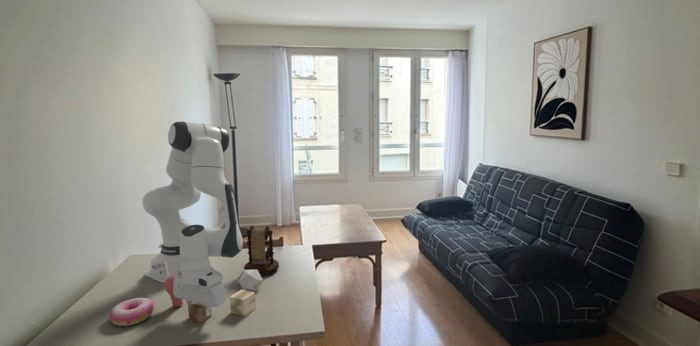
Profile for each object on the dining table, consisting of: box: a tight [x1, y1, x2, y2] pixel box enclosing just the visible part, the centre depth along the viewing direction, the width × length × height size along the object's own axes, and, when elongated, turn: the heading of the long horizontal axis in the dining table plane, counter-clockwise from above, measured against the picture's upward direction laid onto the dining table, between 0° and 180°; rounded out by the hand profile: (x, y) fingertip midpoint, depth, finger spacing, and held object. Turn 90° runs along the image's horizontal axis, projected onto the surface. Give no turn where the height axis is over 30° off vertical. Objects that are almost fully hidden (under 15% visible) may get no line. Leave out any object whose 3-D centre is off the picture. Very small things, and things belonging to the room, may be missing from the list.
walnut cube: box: [187, 302, 212, 324], centre depth 136 cm, size 5×5×5 cm
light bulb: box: [164, 274, 184, 308], centre depth 144 cm, size 7×7×12 cm
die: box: [238, 269, 263, 292], centre depth 156 cm, size 8×9×10 cm
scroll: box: [243, 225, 280, 276], centre depth 174 cm, size 15×15×20 cm
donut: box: [109, 297, 155, 327], centre depth 137 cm, size 14×13×5 cm
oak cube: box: [229, 288, 257, 317], centre depth 140 cm, size 6×6×6 cm
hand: (200, 313), depth 136 cm, fingers closed on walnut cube, 5 cm apart
